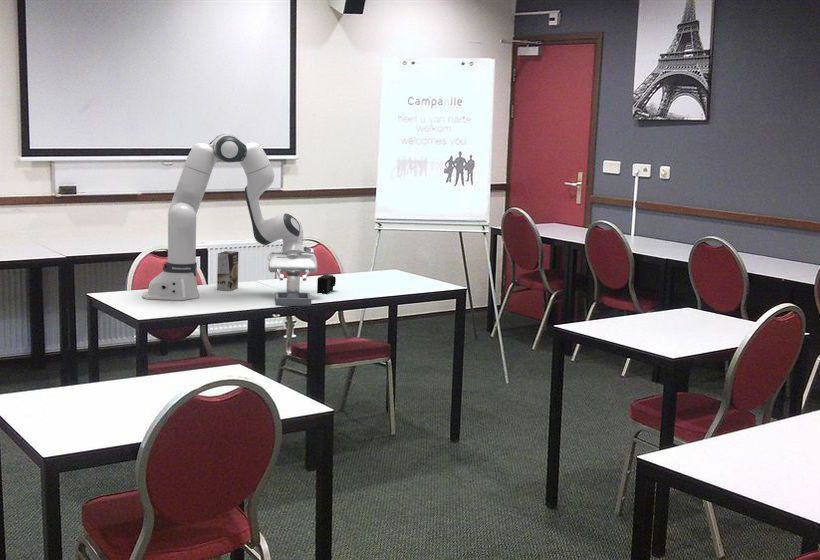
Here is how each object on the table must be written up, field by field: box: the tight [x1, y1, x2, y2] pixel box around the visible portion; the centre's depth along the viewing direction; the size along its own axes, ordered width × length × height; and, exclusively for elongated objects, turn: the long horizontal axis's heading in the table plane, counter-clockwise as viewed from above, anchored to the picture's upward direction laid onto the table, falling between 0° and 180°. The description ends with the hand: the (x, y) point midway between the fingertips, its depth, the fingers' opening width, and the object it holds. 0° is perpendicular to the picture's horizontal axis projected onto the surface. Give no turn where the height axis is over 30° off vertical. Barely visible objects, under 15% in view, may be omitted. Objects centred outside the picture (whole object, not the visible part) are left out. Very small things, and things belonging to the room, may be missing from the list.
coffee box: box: [216, 250, 239, 292], centre depth 414 cm, size 9×6×16 cm
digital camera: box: [316, 274, 337, 295], centre depth 418 cm, size 10×5×7 cm, turn 169°
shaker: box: [286, 270, 301, 298], centre depth 389 cm, size 5×5×13 cm
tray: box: [274, 291, 312, 307], centre depth 390 cm, size 14×14×3 cm
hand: (293, 279), depth 394 cm, fingers open, 8 cm apart
